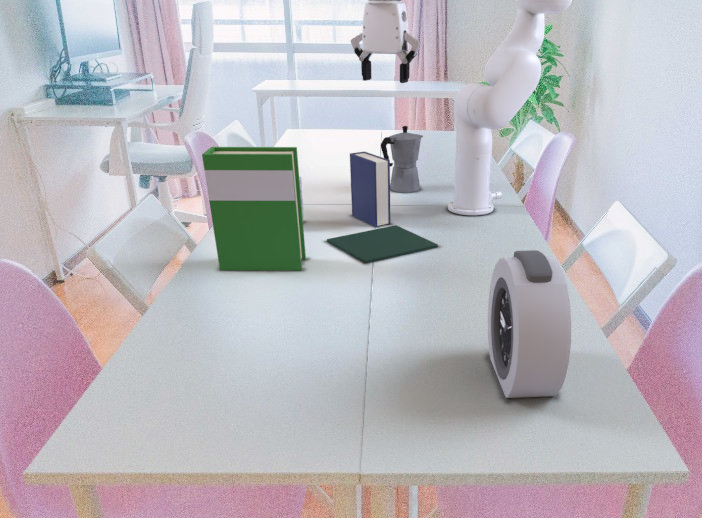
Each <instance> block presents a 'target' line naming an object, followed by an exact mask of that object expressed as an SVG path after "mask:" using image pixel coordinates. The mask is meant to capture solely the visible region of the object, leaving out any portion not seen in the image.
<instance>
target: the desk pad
mask: <svg viewBox="0 0 702 518" xmlns="http://www.w3.org/2000/svg"><path fill="white" fill-rule="evenodd" d="M326 242H327V243H329V244H331V245H332V246H334V247H336V248H337V249H339V250H341V251H343V252H345V253H346V254H348V255H350V256H352V257H353V258H355V259H357V260H358V261H361V262H362V263H364V264H368V263H373V262H374V263H375V262H378V261H383V260H387V259H390V258H395V257H396V258H397V257H400V256H403V255H408V254H413V253H417V252H422V251H426V250H430V249H431V250H432V249H435V248H438V246H439V244H437V243H436V242H433V241H431V240H429V239H427V238H425V237H422V236H421V235H418V234H416V233H415V232H412V231H409V230H407V229H405V228H403V227H401V226H399V225H396V224H395V225H390V226H385V227H384V226H383V227H380V228H375V229H371V230H366V231H365V230H364V231H360V232H356V233H350V234H346V235H341V236H335V237H330V238H327V239H326Z"/></svg>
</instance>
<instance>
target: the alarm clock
mask: <svg viewBox="0 0 702 518" xmlns="http://www.w3.org/2000/svg"><path fill="white" fill-rule="evenodd" d="M568 289H569V288H568V284H567V280H566V276H565V273H564V270H563V268H562V266H561V265H560V262H559V260H557V259H555V258H554V257H553V256H546V255H545V254H544V253H543V252H541V251H539V250H535V249H533V250H515V251H514V252H513V257H511V256H510V257H501V258H499V259H498V260H497V262H496V263H495V265H494V268H493V271H492V275H491V280H490V284H489V293H488V302H487V303H488V305H487V307H488V308H487V340H488V353H489V354H488V355H489V359H490V362H491V364H492V367H493V369H494V372H495V374H496V377H497V380H498V381H499V385H500V387H501V389H502V392H503V394H504V397H505V398H506V399H519V398H542V397H543V398H544V397H546V398H547V397H555V396H557V394H558V393H559V392H560V391H561V390H562V388H563V386H564V383H565V379H566V377H567V373H568V369H569V363H570V357H571V348H572V347H571V346H572V313H571V301H570V295H569V290H568Z"/></svg>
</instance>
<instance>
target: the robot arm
mask: <svg viewBox="0 0 702 518" xmlns="http://www.w3.org/2000/svg"><path fill="white" fill-rule="evenodd" d="M402 1H403V0H367V2H365V3H364V9H363V17H362V32H360V33H359V34H357V35H356V36H354V37H352V38H351V39H350V44H351V46H352V48H353V51H354V54H355V55H356V56H357V58H358V60H359V62H360V63H361V67H360V68H361V77H362V81H365V82H367V81H370V80H372V61H371V60H370V58H371V57H372V56H373V54H384V55H388V54H389V55H397V57H398V58H399V60H400V62H401V63H400V64H399V83H400V84H405V83H408V82H409V79H410V66H411V65H410V64H411V63H412V61H413V60H414V59H415V58H416V56H417V54H418V52H419V50H420V47H421V41H419V40H418V39H417V38H415V37H414V36H412V35H411V34H410V30H409V20H408V19H409V18H408V12H407V5H406V3H404V2H403V3H402ZM514 1H515V20H514V23H513V26H512V28H511V29H510V31H509V33H508V34H507V35H506V36H505V38H504V39H503V40H502V41H501V43H500V44H499V46H498V47H497V48H496V50H495V51H494V52H493V53H492V54H491V56H490V57H489V59H488V60H487V62H486V64H485V66H484V70H483V76H484V79H485V81H486V83H487V84H485V83H478V82H471V83H467V84H465V85H463V86H462V87H461V88H459V90H458V91H457V93H456V95H455V97H454V102H453V113H454V122H455V158H454V159H455V160H454V182H453V183H454V184H453V200H452V201H450V202H449V203H448V204H447V210H448V211H450V213H453V214H457V215H463V216H482V215H483V216H484V215H487V214H490V213H492V212H493V211H494V207H495V206H494V204H493V203H492V202H493V201H494V200H499V199H502V197H503V194H502V192H501V191H495V192H493V191H491V190H490V185H491V184H490V183H491V182H490V181H491V169H492V168H491V167H492V152H493V133H492V130H500V129H502V128H504V127H505V126H507V125H508V124H509V123H510V122H511V121H512V120H513V118H514V117H515V116H516V115H517V113H518V112H520V110H521V108H523V106H524V104H525V103H526V102H527V101H528V100H529V98H530V97H531V96H532V94H533V93H534V91H536V88H537V87H538V85H539V83H540V80H541V77H542V63H541V60H540V58H539V57H538V55H537V53H538V51H539V50H540V49H541V47H542V45H543V42H544V39H545V34H546V33H545V32H546V29H545V28H546V25H545V24H546V21H545V18H546V17H545V15H559V14H562V13H564V12H565V11H567V10H568V8H570V6H571V4H572V2H573V0H514ZM361 42H362V48H361V45H360V43H361ZM410 45H411V49H410ZM409 49H410V51H409Z"/></svg>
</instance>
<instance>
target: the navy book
mask: <svg viewBox="0 0 702 518" xmlns="http://www.w3.org/2000/svg"><path fill="white" fill-rule="evenodd" d="M390 163H391V161H390V159H389V160H388V159H385V158H384V157H382V156H379V155H376V154H373V153H371V152H368V151H357V152H350V153H349V167H350V169H349V170H350V171H349V172H350V194H351V195H350V197H351V217H354V218H356V219H358V220H360V221H362V222H364V223H367V224H368V225H370V226H372V227H375V228H378V227H379V226H383V225H391V189H390V183H391V167H390Z"/></svg>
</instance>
